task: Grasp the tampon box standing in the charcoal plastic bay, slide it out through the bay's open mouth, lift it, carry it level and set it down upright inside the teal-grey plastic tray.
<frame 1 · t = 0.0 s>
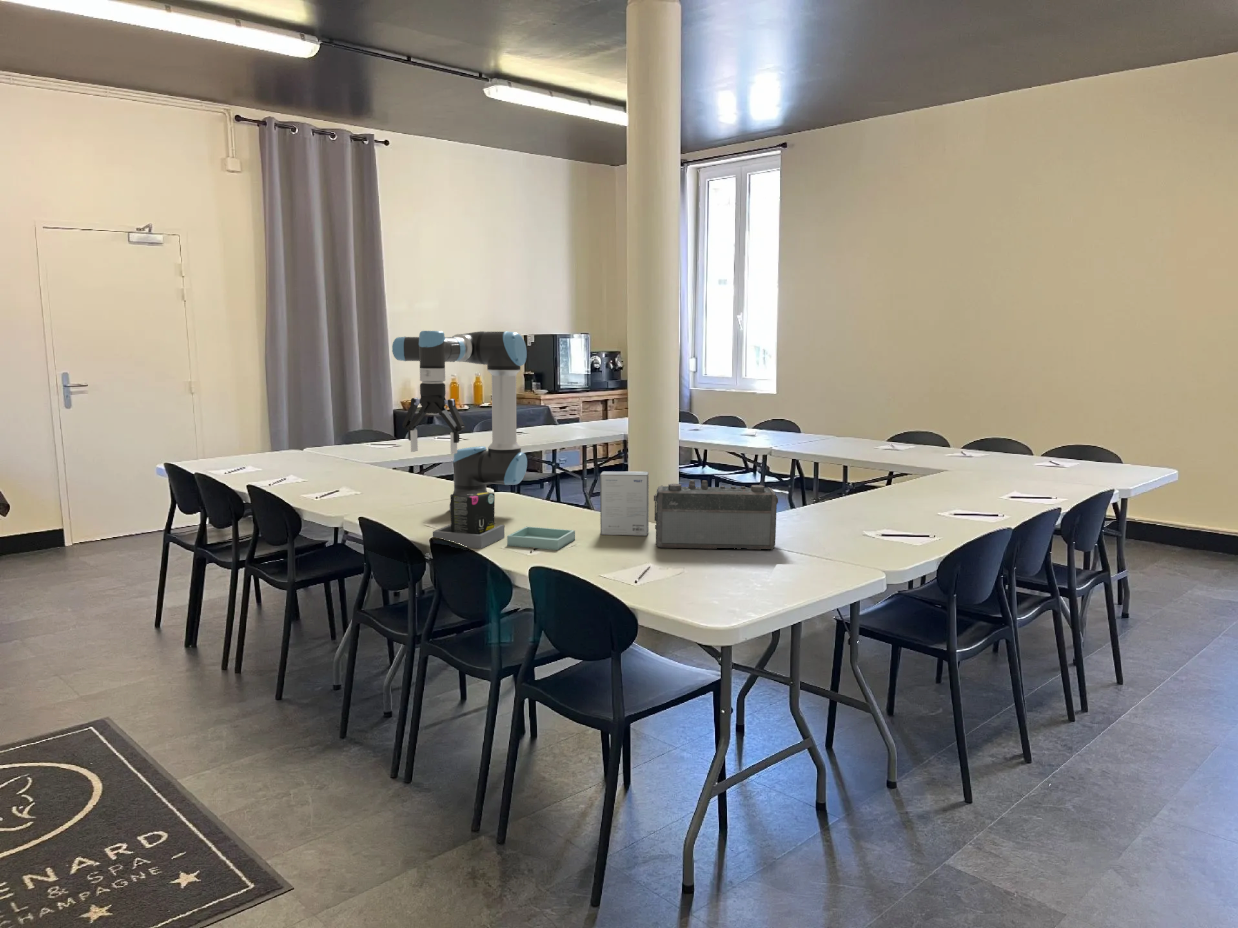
hand: (434, 452, 271), 28 cm above the table, fingers open, 13 cm apart
hard drive box: (624, 533, 291), on the table
tampon box: (473, 539, 280), resting in bay
radio: (714, 545, 276), on the table
bay: (470, 540, 278), on the table
tray: (541, 542, 276), on the table
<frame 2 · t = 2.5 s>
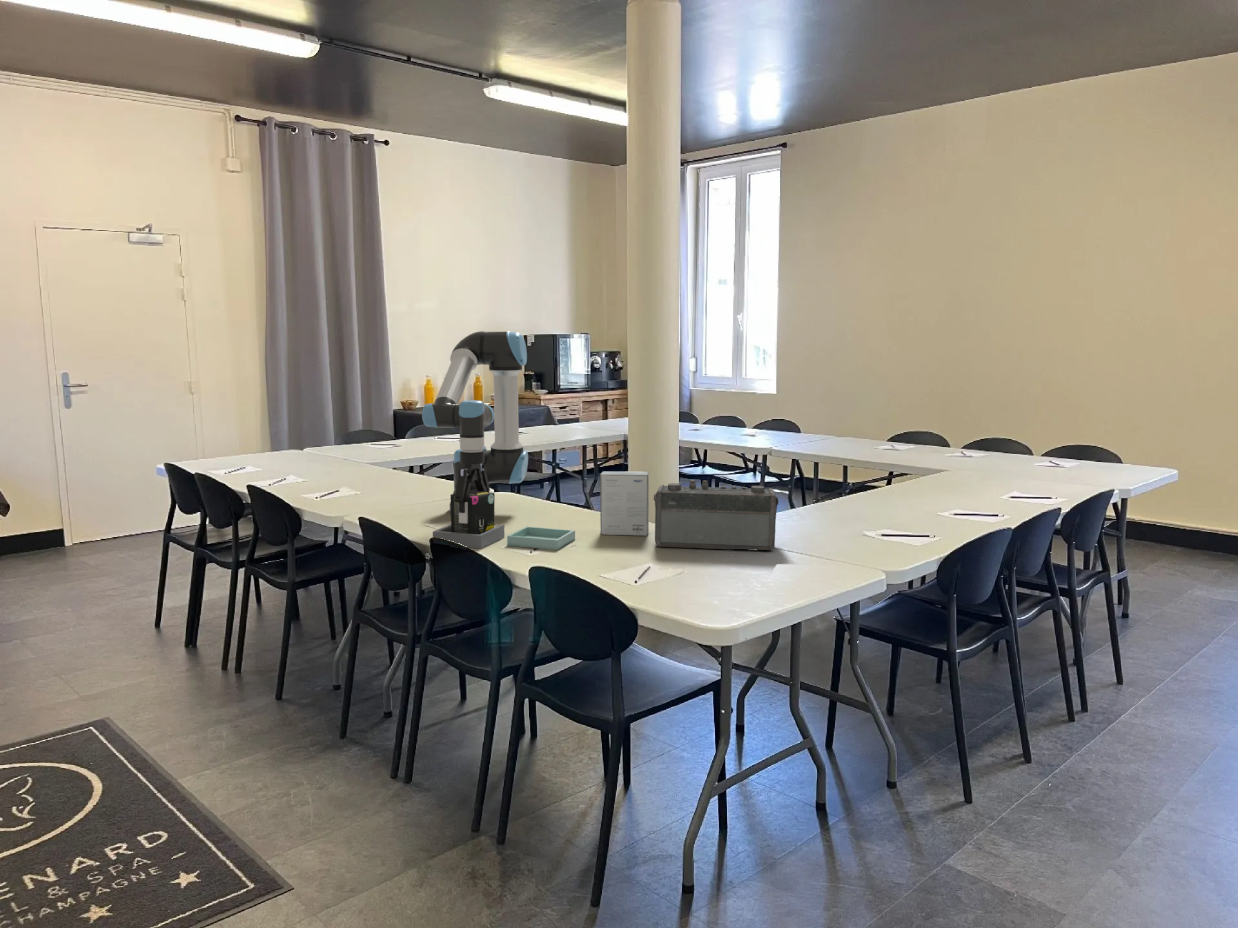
hand: (472, 519, 279), 6 cm above the table, fingers closed on tampon box, 12 cm apart
tampon box: (473, 539, 280), resting in bay, touching gripper
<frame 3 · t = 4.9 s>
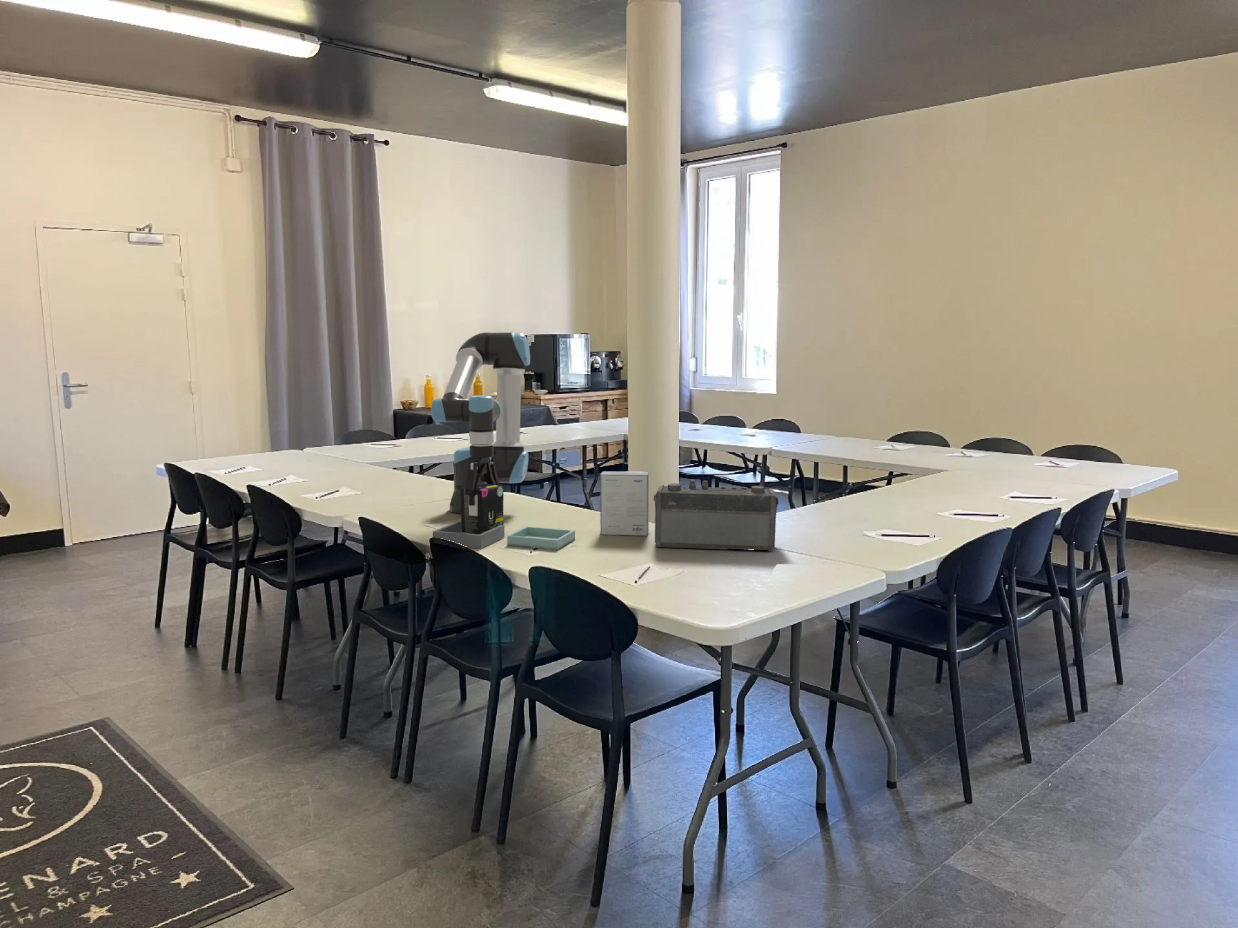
hand: (482, 511, 285), 7 cm above the table, fingers closed on tampon box, 12 cm apart
tampon box: (482, 531, 286), point 1 cm above the table, touching gripper
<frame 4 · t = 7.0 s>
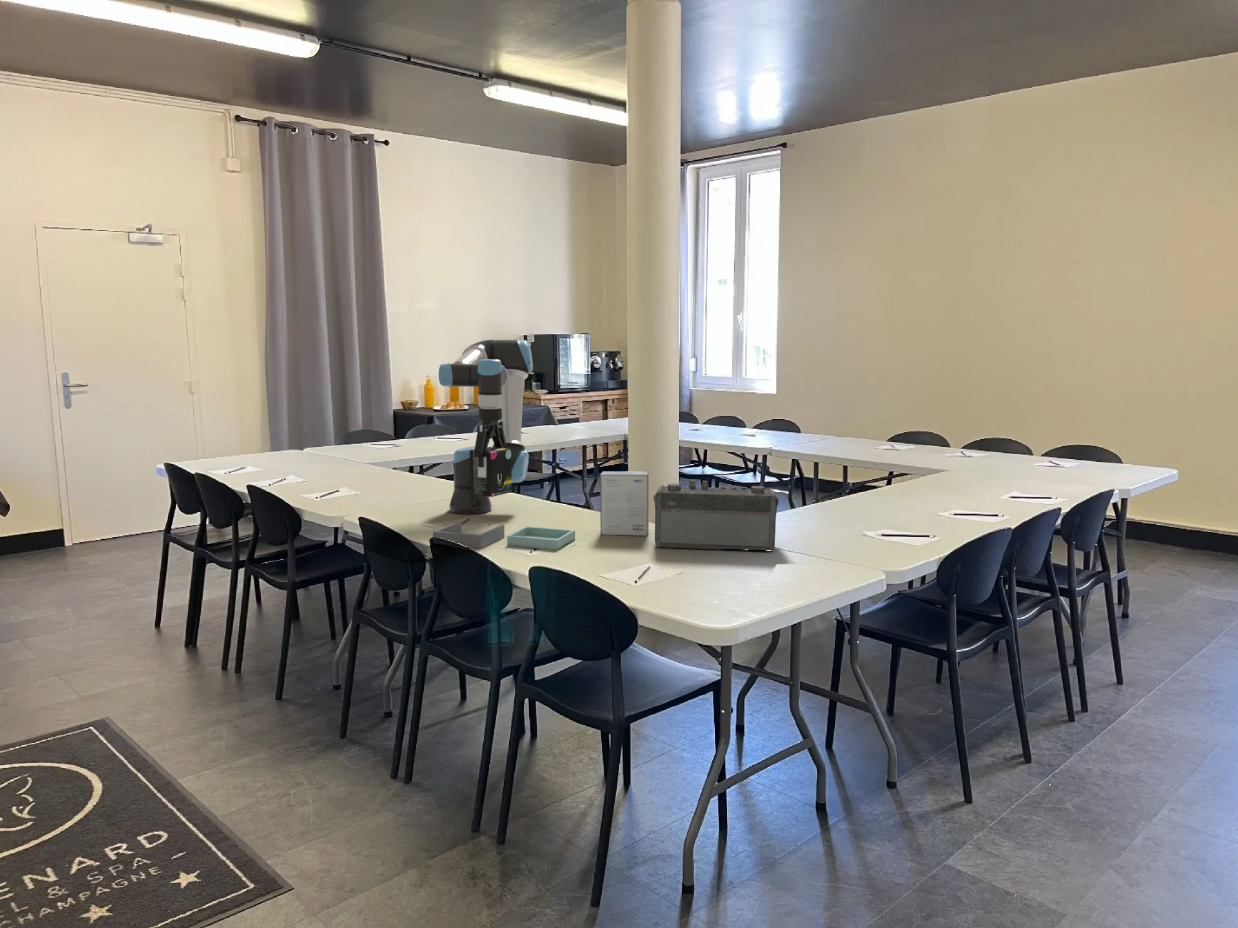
hand: (491, 474, 290), 19 cm above the table, fingers closed on tampon box, 12 cm apart
tampon box: (491, 494, 291), point 12 cm above the table, touching gripper
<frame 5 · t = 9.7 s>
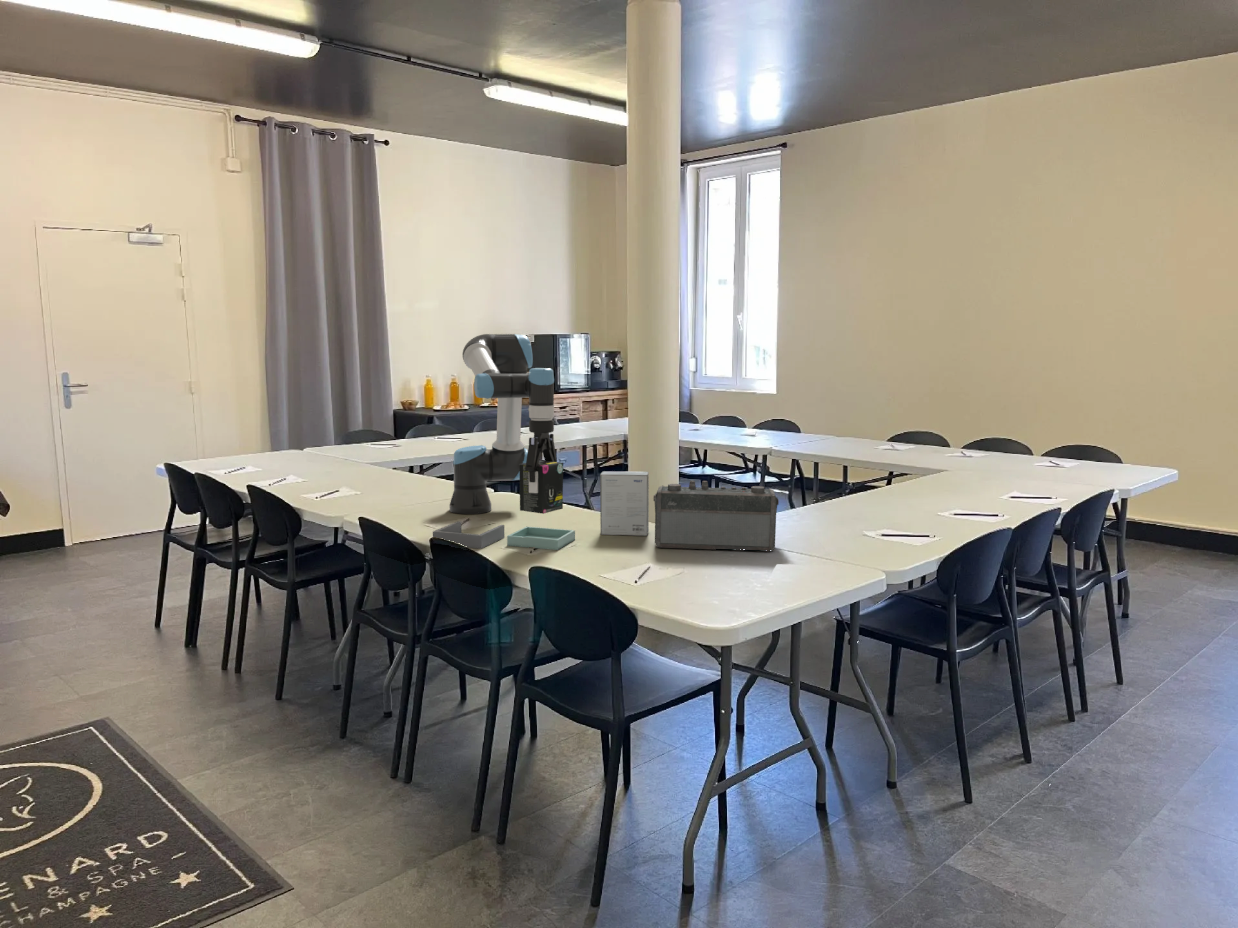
hand: (541, 489, 273), 17 cm above the table, fingers closed on tampon box, 12 cm apart
tampon box: (541, 510, 274), point 10 cm above the table, touching gripper
when the fingers open (8 cm above the table, at t = 11.8 s): tampon box drops 1 cm, resting on tray.
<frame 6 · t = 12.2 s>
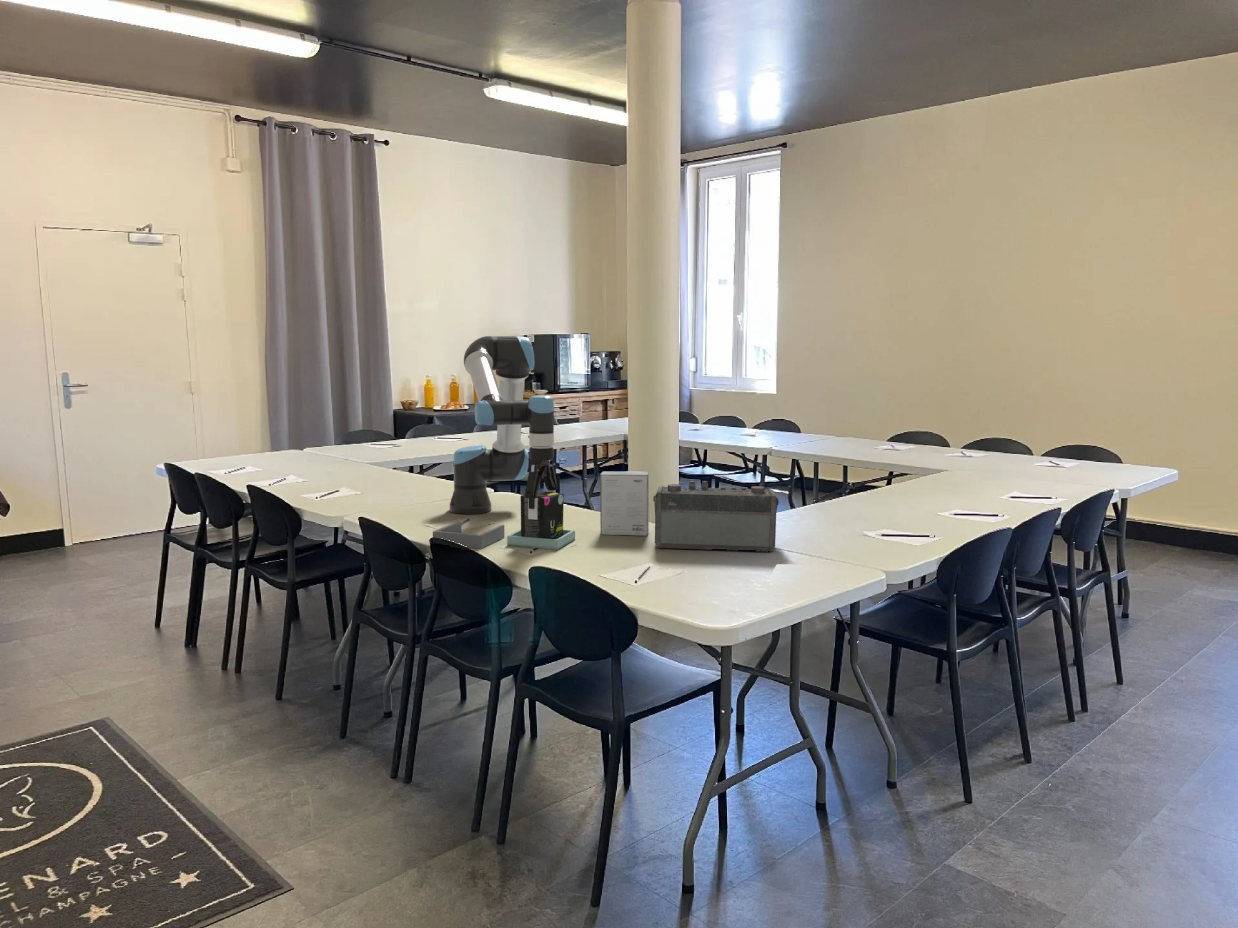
hand: (541, 515, 275), 9 cm above the table, fingers open, 13 cm apart
tampon box: (542, 541, 276), resting on tray
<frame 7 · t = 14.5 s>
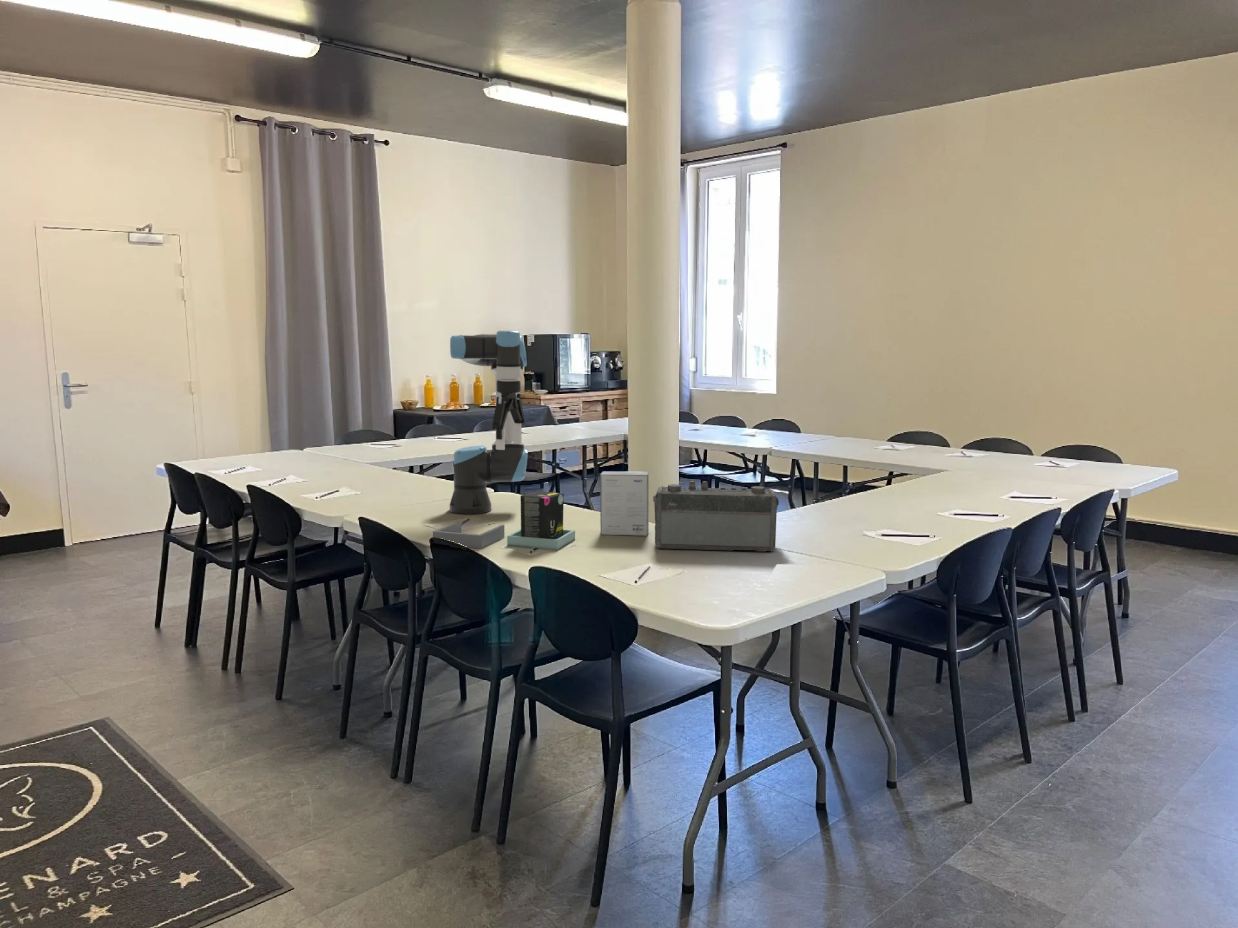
hand: (508, 446, 285), 28 cm above the table, fingers open, 13 cm apart
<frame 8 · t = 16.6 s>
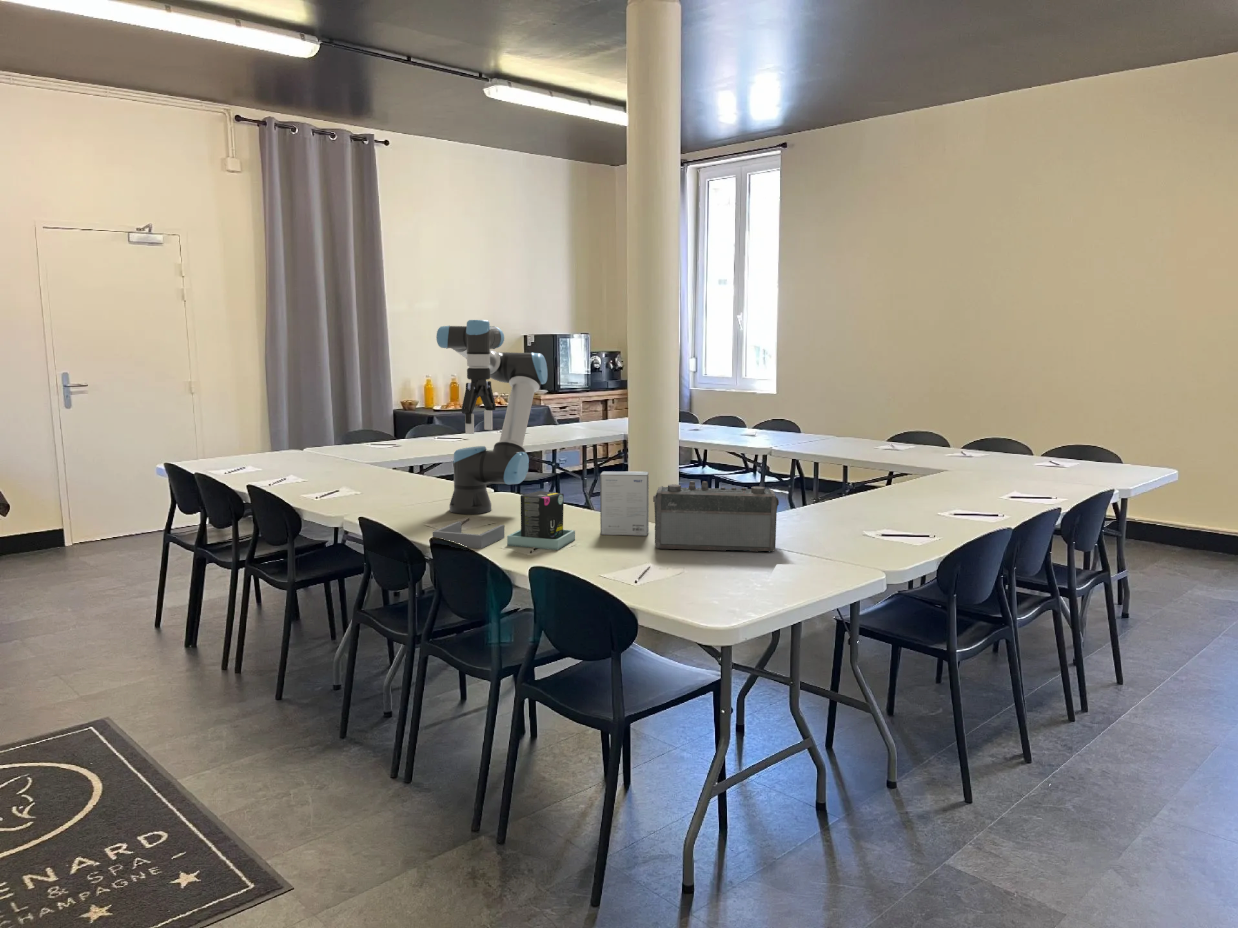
hand: (479, 431, 295), 32 cm above the table, fingers open, 13 cm apart
at the end: tampon box inside the target area on the tray (0.4 cm from its centre), point 0.4 cm above the tray's base; tampon box tilted 0°; the gripper is holding nothing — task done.
